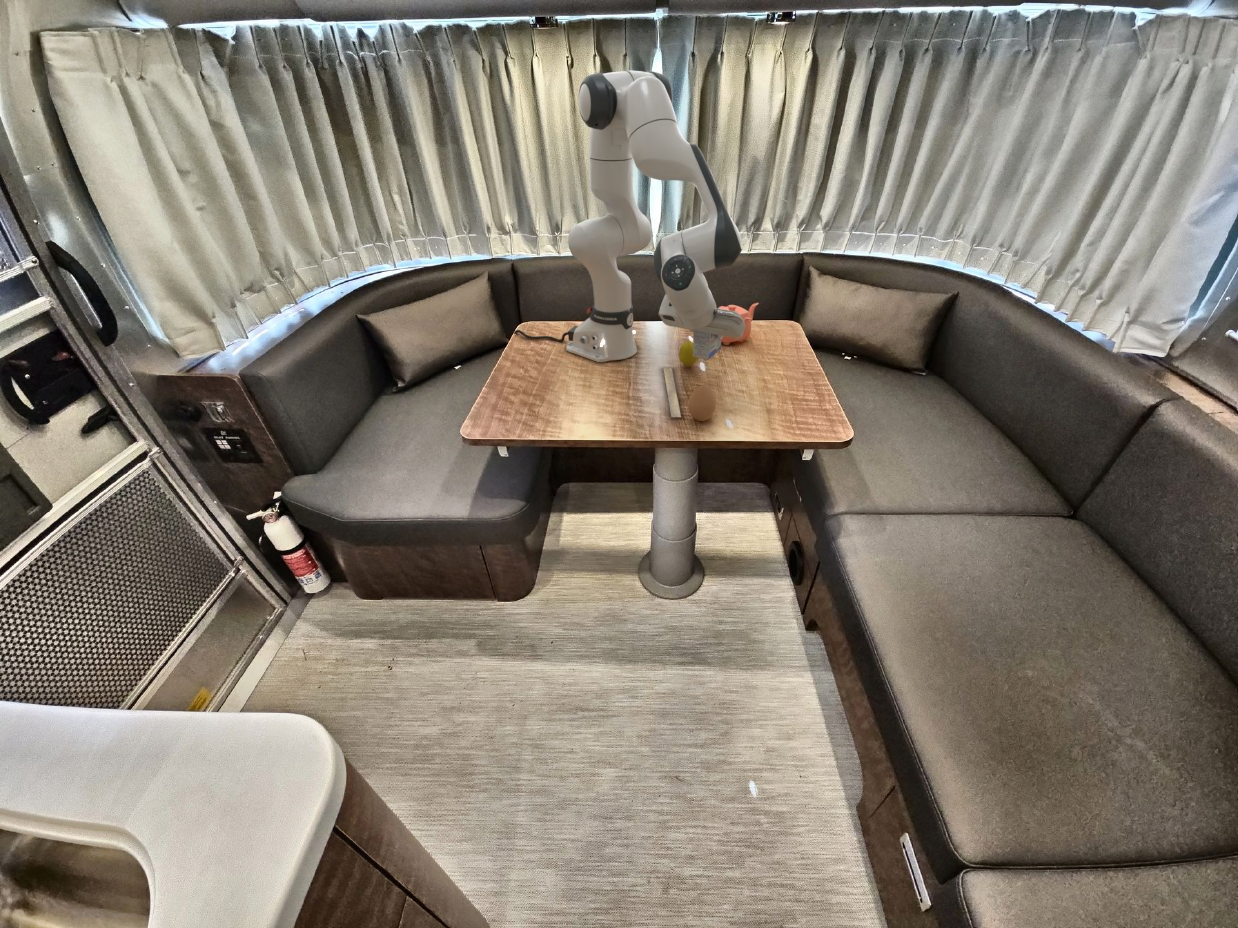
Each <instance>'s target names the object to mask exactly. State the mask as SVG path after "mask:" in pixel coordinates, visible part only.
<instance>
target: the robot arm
mask: <svg viewBox="0 0 1238 928" xmlns="http://www.w3.org/2000/svg"><path fill="white" fill-rule="evenodd" d="M673 98H674V93H673V88H672V85H671V82H670V80H669V78H668V77H667V76H666V75H664V74H662V73H660V72H657V71H652V70H651V71H642V70H626V69H625V70H624V71H612V72H606V73H602V72H596V73H592V74H589V75H587V76H585V77H584V78H583V80H582V82H581V83H580V85H579V89H578V110H579V114H580V118H581V120H582V121H583V122H584V124H585V125H586V126H587V127H588V128H590V131H589V132H590V133H589V144H588V145H589V147H588V155H589V156H588V157H589V158H588V161H589V163H588V164H589V188H590V191H591V194H593V196H594V197H595V198H596V199H598V200H599V201H600V202H603V204H604V206H605V216H604V215H603V216H599V217H593V218H589V219H586V220H583V221H581V222H579V223H577V224H575V225H573V226H572V227H571V229H570V230H569V233H568V239H567V240H568V241H567V242H568V243H567V244H568V249H569V251H570V254H571V255H572V256H573V258H574V259H575V260H576V261H577V262H579V263H580V264H582V265H583V266H584V268H585V269H586V270H587V272H588V274H589V276H590V279H591V283H592V290H593V291H592V292H593V303H594V304H593V305H591V306H590V308H588V309H586V311H587V312H586V314H589V313H590V315H589V317H588V318H587V319H584V321H582V322H581V323H579V325H574V326H573V327H571V328H570V329H569V330H568V331H567V332H564V333H563V334H562V335H561V338H560V339H559V338H556V337H553V336H551V335H540V336H539V335H537V336H532V335H528V334H526V333H525V332H523V330H520V329H516V330H514V332H513V335H517V334H521V336H523V337H525V338H526V339H530V340H545V339H546V340H552V341H554V342H557V343H562V342H564V341H565V337H566V336H567V338H568V341H569V342H568V343H567V344H566V348H565V350H566V351H567V352H569V353H572V354H574V355H577V356H579V357H582V358H585V359H588V360H591V361H594V362H597V363H605V362H609V361H619V360H621V361H622V360H625V359H629V358H631V357H633V356H634V355H636V354H637V352H638V347H637V344H636V341H635V334H636V330H634V328H633V324H634V306H633V303H632V281H631V279H630V277H629V276H628V274H627V273H625V272H623V271H622V270H620V269H618V264H617V260H618V259H617V258H622V257H626V256H630V255H634V254H636V253H638V252H640V251H642V250H644V249H646V248H647V247H648V246H649V245H650V243H651V240H652V233H653V232H652V226H651V223H650V220H649V219H648V218H647V216H646V215H645V214H643V212H642V211H641V210H640V208H639V207H638V204H637V202H636V198H635V194H634V185H633V183H634V182H633V179H634V177H633V175H634V174H633V170H634V169H633V168H634V167H633V166H634V165H635V167H636V169H637V170H638V171H639V172H640V173H641V174H642V175H644V176H645V177H648V178H649V179H653V180H658V181H679V182H686V183H689V184H691V185H693V186H694V187H695V188H696V190H697V192H698V194H699V197H700V200H701V201H702V203H703V204H702V205H703V206H704V209H705V211H706V213H707V216H708V218H707V220H706V221H704V222H702V223H699V224H697V225H694V226H691V227H689V228H686V229H683V230H679V231H676V232H673V233H671V234H668V235H665V236H664V237H662V238H660V240H659V241H658V242H657V244H656V247H655V250H654V252H653V265H654V270H655V273H656V276H657V279H658V281H659V283H660V284H661V286H662V287H663V291H664V293H665V294H664V296H663V299H662V302H661V304H660V307H659V310H658V316H659V318H660V320H661V322H662V323H663V324H664V325H666V326H668V327H672V328H673V327H674V328H679V329H684V330H688V331H690V332H692V333H693V334H694V331H699V332H705V333H710V334H715V337H716V338H717V339H722V337H723V336H726V337H732V338H737V339H739V338H741V337H742V336H743V333H744V330H745V326H746V325H745V322H744V320H743V319H742V317H741V316H740V315H739V314H738V313H737V312H734V311H730V310H724V309H718V308H719V307H717V303H716V301H715V298H714V295H713V294H712V291H711V289H710V288H709V284H708V281H707V278H706V276H705V275H704V273H706V272H710V271H712V270H718V269H723V268H726V267H730V266H731V267H732V265H734V263H736V261H737V259H738V258H739V256H740V255H741V253H742V252H743V250H742V249H743V248H742V247H743V242H742V236H741V232H740V230H739V229H738V227H737V224H736V223H735V221H734V220H733V218H732V217H731V215H730V214H729V212H728V208H727V207H726V204H725V201H724V199H723V197H722V194H721V192H720V189H719V187H718V185H717V183H716V180H715V178H714V175H713V173H712V171H711V168H710V167H709V165H708V163H707V161H706V159H705V156H704V154H703V152H702V150H701V148H700V147H699V146H698V145H697V144H696V143H692V142H689V141H687V140H686V138H684V136H683V135H682V132H681V130H680V128H679V123H678V120H677V119H678V118H677V116H676V112H675V109H674V106H673V101H674V99H673ZM633 163H634V165H633Z"/></svg>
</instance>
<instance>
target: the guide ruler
mask: <svg viewBox="0 0 1238 928" xmlns="http://www.w3.org/2000/svg"><path fill="white" fill-rule="evenodd" d="M662 369H663V376H664V379H665V380H664V382H665V388H666V394H667V400H668V406H669V412H670V418H671V419H681V418H682V416H681V410H680V409H681V408H680V404H679V399H678V393H677V388H676V384H675V378H674V372H673V368H672V367H663V368H662Z"/></svg>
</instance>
